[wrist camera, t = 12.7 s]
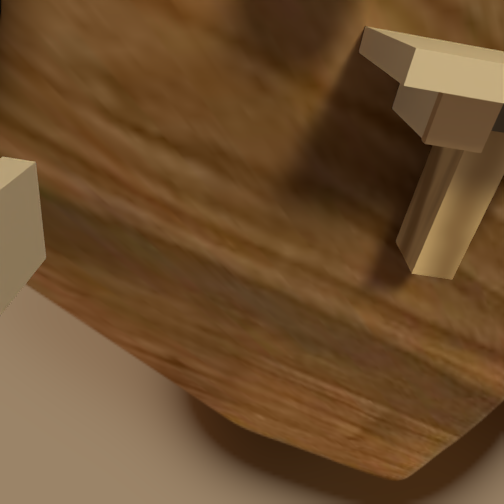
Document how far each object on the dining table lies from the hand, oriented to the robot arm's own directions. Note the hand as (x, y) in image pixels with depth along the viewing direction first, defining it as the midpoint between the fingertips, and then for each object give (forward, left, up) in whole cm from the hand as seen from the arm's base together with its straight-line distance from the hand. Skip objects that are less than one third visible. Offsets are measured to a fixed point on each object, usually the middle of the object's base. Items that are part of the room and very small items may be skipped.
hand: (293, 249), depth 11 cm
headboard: (+17, +1, -31) cm, 35 cm away
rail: (+18, -7, -31) cm, 36 cm away
